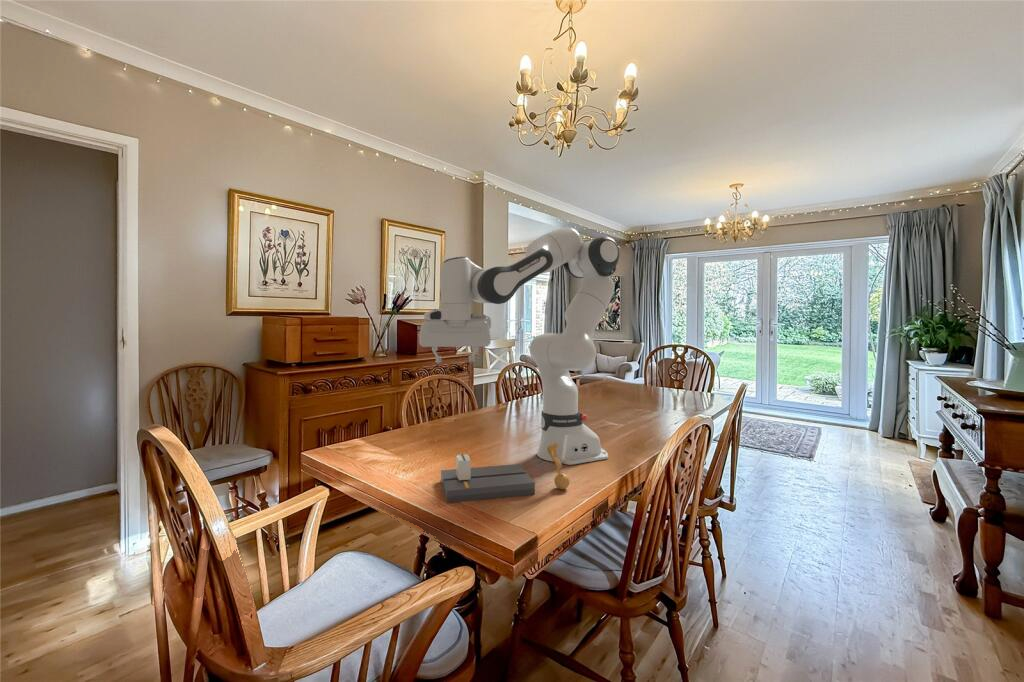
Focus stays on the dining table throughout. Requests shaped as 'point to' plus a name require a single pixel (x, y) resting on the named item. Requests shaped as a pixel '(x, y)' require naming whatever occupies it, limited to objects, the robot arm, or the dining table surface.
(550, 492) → the dining table surface
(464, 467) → the fader tab
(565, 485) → the figurine
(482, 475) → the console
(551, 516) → the dining table surface
